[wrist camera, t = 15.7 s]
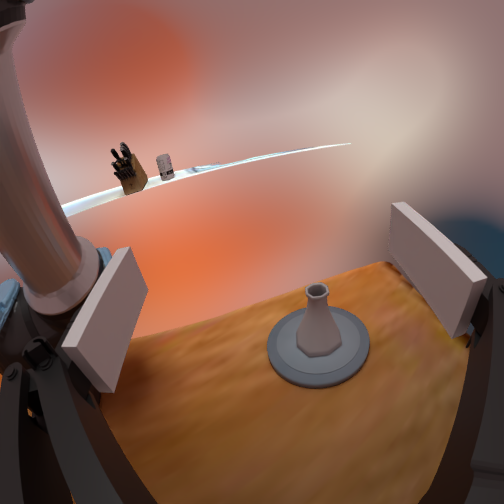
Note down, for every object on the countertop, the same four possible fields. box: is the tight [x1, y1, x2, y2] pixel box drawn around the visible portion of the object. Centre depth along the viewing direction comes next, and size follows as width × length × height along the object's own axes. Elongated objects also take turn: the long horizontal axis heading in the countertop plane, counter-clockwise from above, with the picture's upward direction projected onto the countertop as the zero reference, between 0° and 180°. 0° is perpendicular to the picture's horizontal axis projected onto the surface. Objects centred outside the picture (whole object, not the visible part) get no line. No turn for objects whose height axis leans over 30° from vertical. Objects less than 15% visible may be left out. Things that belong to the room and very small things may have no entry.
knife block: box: [111, 142, 148, 195], centre depth 151 cm, size 11×35×31 cm, turn 11°
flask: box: [296, 282, 342, 357], centre depth 39 cm, size 7×7×10 cm
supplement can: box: [156, 154, 175, 181], centre depth 160 cm, size 8×8×15 cm
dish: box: [267, 306, 369, 389], centre depth 42 cm, size 16×16×2 cm
